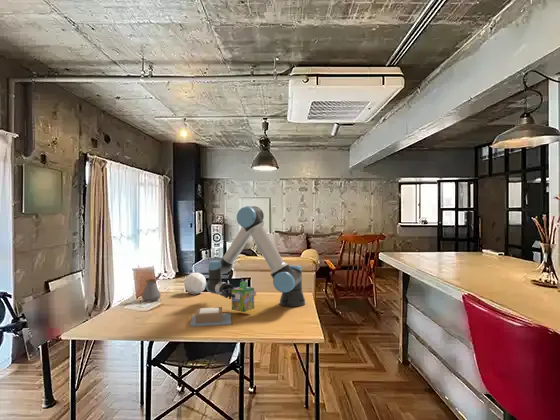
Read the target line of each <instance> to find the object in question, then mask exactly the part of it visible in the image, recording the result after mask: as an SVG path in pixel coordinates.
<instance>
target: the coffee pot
mask: <svg viewBox="0 0 560 420" xmlns="http://www.w3.org/2000/svg"><path fill="white" fill-rule="evenodd" d="M160 276H161V277H162V276H163V273H162V272H160V273H159V274H158V275H157V276H156V278H154V279H152V278H151V279H145V282H146V285H145V287H144V290H143V293H142V295H141V299H142V300H143V301H144V302H146V301H153V302H158V300H160V298H161V292H160V290H159V289H158V286H157V284H156V282H157V280H158V279H159V278H160Z"/></svg>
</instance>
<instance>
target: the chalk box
mask: <svg viewBox="0 0 560 420" xmlns="http://www.w3.org/2000/svg"><path fill="white" fill-rule="evenodd" d="M243 285H244V286H243ZM254 291H255V288H254V287H251V286H248V282H246V281H240V282H239V286H238V287H235V288H234V289H232V293H237V294H240V299H239V300H238V299H235V298H232V297H231V310H232V311H237V312H242V313H246V312H248V311H251V310H253V309H255V296H254Z"/></svg>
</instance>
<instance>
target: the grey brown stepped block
mask: <svg viewBox="0 0 560 420" xmlns="http://www.w3.org/2000/svg"><path fill="white" fill-rule="evenodd" d="M195 312H196V313H195V314H193V315H192V317H191V321H190V323H189V327H190V326H191V327H206V326H207V327H208V326H227V325H228V326H229V325H230V326H231V325H232V314H231V313H230V312H229V313H223V306H216V307H197V309H196V311H195Z"/></svg>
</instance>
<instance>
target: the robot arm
mask: <svg viewBox="0 0 560 420" xmlns="http://www.w3.org/2000/svg"><path fill="white" fill-rule="evenodd" d="M264 216H265V215H264V212H263V210H262V209H261V207H258V206H256V205H255V206H253V205H252V206H248V205H247V206H243V207H241V208H240V209H239V210H238V211H237V213H236V223H237V224H238V225H239V226H241V228H240V230H239V231H238V233H237V235H235V236H236V237H235V238H234V239H233V241H232V243H231V244H230V246H229V247H228V249H227V250H226V252H225V254H224V255H223V257H222V258H221V260H217V259H216V260H215V259H214V260H210V261H209V262H208V267H207V268H208V281H206V286H205V289H206V290H207V292H209V293H210V294H215V295H219V296H221V297H224V298H225V299H228V300H232V298H235V299H238V300H239V299H240V294H237V293H232V289H234V288H236V287H235V286H233V285H232V284H231V283H227V282H223V281H222V275H224V274H228V273H229V272H230V271H231V270H232V269H233V264H234V263H235V261H236V260H237V258H238V257H239V255H240V254H241V252H242V251H243V250H244V248H245V246H246V244H247V243H248V241H249V239H250V238H251V237H252V239H253V241H254V243H255V244H256V246H257V249H259V251H260V253H261V255H262V256H263V259H264V261H265V262H266V263H267V264H266V265H268V268H269V269H270V276H271V277H272V282H273V283H272V284H273V287H274V288H275V289H276V290H277V291H278V292H280V293H281V296H280V299H279V305H281V306H283V307H289V308H290V307H291V308H293V307H294V308H295V307H297V308H298V307H302V306H304V305H306V298H305V296H304V293H303V269H302V268H303V267H302V266H301V265H291V264H289V263H287V262H284V260H283V258H282V257H281V254H280V253H279V250H278V249H277V247H276V246H275V244H274V242H273V241H272V239H271V237H270V235H269V234H268V232H267V230H266V229H265V227H264V226H265V222H264ZM256 296H257V290H254V297H256Z"/></svg>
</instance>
